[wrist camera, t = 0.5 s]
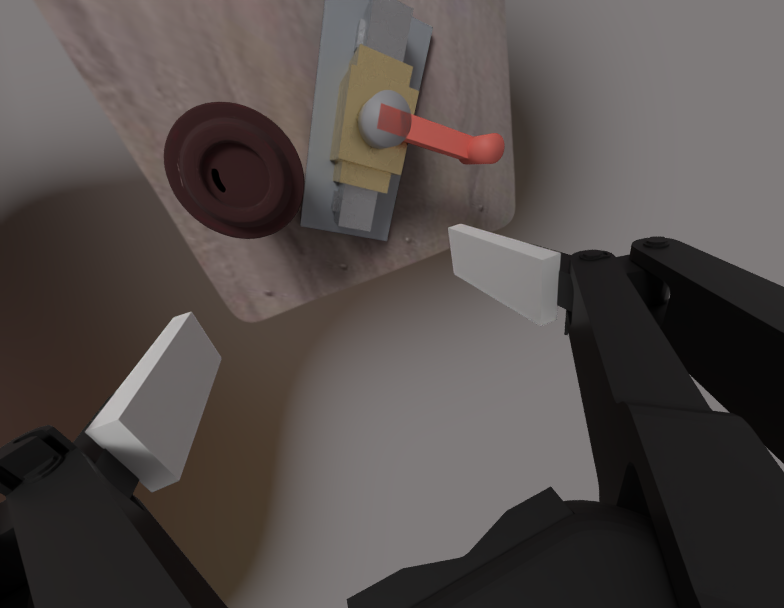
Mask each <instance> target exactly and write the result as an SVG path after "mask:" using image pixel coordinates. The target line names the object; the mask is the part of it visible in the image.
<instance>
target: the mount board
mask: <svg viewBox="0 0 784 608" xmlns="http://www.w3.org/2000/svg"><path fill="white" fill-rule="evenodd" d="M368 3H369V0H325V4H324V13H323V22H322V31H321V40H320V49H319V58H318V67H317V76H316V86H315V95H314V104H313V113H312V122H311V131H310V140H309V149H308V158H307V167H306V176H305V185H304V194H303V204H302V213H301V222H300V226H303V227H308V228H314V229H320V230H326V231H331V232H337V233H343V234H348V235H354V236H360V237H365V238H371V239H377V240H383V241H387V237H388V233H389V228H390V223H391V219H392V214H393V210H394V205H395V200H396V196H397V191H398V186H399V182H400V177H401V175H391V177H390V182H389V187H388V191H387V193H382V192H378V194H377V199H376V204H375V210H374V215H373V220H372V225H371V230H370V232H369V231H363V230H358V229H353V228H347V227H342V226H338V225H337V224H336V223H335V222H334V215H335V211H332V210H331V204H332V197H333V190H335V191H338V188H339V182H337V181H332V180H333V173H334V166H335V161H331V160H330V152H331V145H332V137H333V130H334V122H335V115H336V108H337V100H338V93H339V85H340V82H341V81H342V79H343V77H344V76H345V74H346V73H347V71H348V67H349V62H350V60H351V58H352V57H353V55H354V53H355V52H353V51H354V44H355V37H356V30H357V24H358V22H359V20H360V19H363V20H364V13H365V9H366V7H367V5H368ZM432 29H433V27H431V26H429V25H427V24H425V23H423V22H421V21H420V20H418V19H416V18H414V17H412V19H411V24H410V29H409V35H408V40H407V45H406V50H405V55H404V60H403V63H406V64H408V65H410V66H413V69H412V74H411V79H410V84H409V87H410V88H413V89H415V90H418V91H419V89H420V85H421V80H422V75H423V71H424V66H425V62H426V57H427V52H428V48H429V43H430V38H431V34H432Z"/></svg>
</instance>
